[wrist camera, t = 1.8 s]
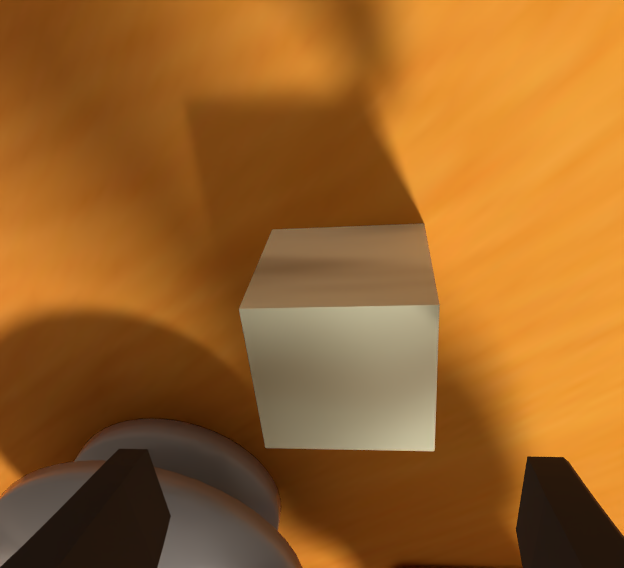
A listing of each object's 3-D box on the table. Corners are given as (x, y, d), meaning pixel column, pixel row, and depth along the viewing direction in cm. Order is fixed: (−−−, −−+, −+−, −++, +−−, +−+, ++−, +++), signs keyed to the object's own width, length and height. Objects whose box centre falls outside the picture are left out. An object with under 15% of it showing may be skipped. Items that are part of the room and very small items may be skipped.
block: (422, 346, 18) (434, 450, 14) (289, 347, 18) (265, 447, 14) (423, 222, 15) (439, 305, 11) (272, 228, 16) (238, 308, 12)
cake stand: (327, 584, 25) (318, 688, 21) (90, 571, 26) (44, 665, 23) (301, 389, 19) (282, 486, 15) (-2, 388, 21) (-83, 475, 17)
